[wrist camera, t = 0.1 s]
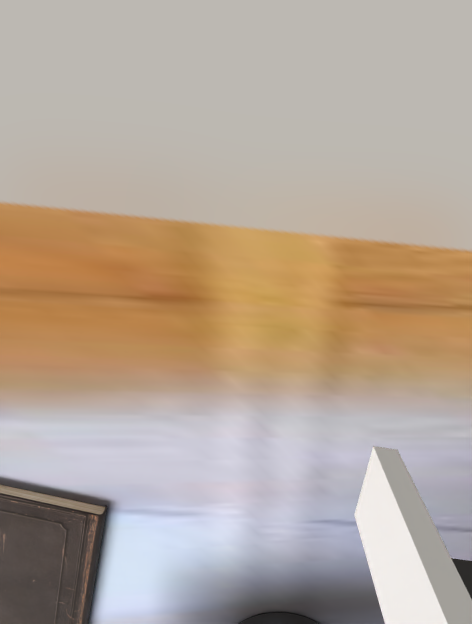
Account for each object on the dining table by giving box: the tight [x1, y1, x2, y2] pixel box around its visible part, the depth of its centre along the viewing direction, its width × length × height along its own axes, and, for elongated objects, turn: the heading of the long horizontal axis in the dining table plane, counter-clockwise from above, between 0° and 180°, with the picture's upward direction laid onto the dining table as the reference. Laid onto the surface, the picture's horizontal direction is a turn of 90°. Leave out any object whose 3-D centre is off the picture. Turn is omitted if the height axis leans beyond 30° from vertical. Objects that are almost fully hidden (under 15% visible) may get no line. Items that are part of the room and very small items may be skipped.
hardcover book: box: [0, 485, 107, 624], centre depth 53 cm, size 16×23×2 cm
